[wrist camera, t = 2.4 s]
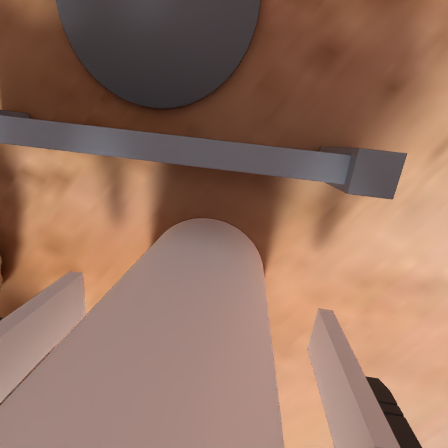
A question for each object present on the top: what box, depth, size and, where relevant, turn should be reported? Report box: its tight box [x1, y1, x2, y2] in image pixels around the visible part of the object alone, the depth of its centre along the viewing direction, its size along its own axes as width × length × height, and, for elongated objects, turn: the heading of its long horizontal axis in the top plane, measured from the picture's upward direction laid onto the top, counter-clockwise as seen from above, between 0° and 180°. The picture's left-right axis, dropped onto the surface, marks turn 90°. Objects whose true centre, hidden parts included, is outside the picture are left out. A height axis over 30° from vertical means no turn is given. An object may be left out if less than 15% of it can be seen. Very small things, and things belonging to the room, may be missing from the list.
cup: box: [0, 218, 284, 448], centre depth 11 cm, size 8×8×16 cm
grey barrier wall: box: [0, 110, 407, 199], centre depth 13 cm, size 22×2×6 cm, turn 84°
